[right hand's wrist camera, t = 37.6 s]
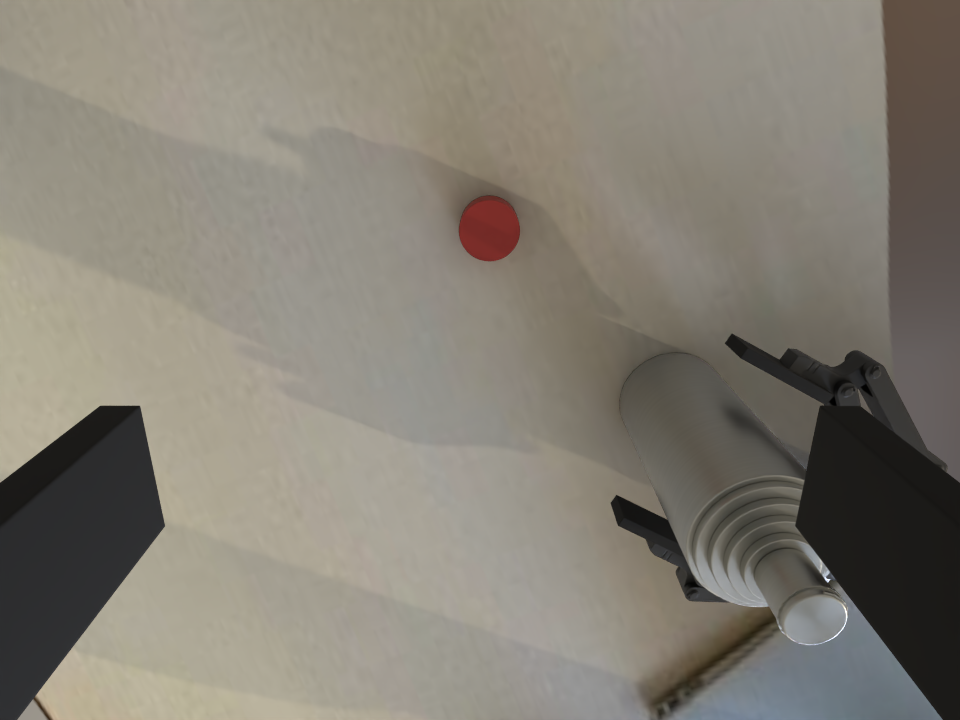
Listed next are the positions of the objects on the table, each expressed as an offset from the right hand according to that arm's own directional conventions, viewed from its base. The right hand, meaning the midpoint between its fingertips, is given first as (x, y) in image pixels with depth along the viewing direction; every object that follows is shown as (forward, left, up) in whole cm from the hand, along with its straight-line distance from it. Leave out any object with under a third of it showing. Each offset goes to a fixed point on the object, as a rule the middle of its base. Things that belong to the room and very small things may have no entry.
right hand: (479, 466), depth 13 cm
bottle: (+15, +12, -33) cm, 38 cm away
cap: (0, 0, -31) cm, 31 cm away
